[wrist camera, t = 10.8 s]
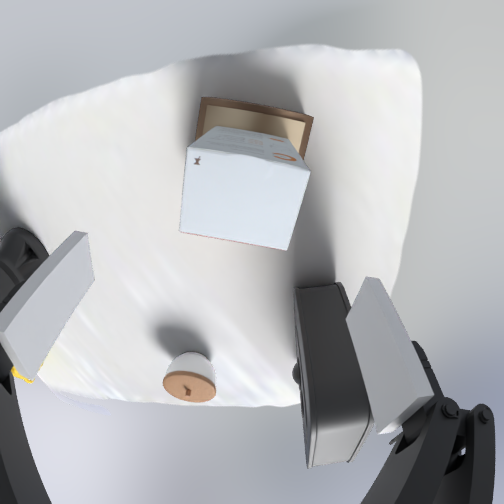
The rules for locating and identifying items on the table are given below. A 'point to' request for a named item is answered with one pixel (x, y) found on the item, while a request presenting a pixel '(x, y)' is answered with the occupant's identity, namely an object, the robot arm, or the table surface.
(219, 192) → the small box
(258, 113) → the brown square box
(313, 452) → the speaker
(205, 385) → the lidded jar
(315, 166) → the table surface
